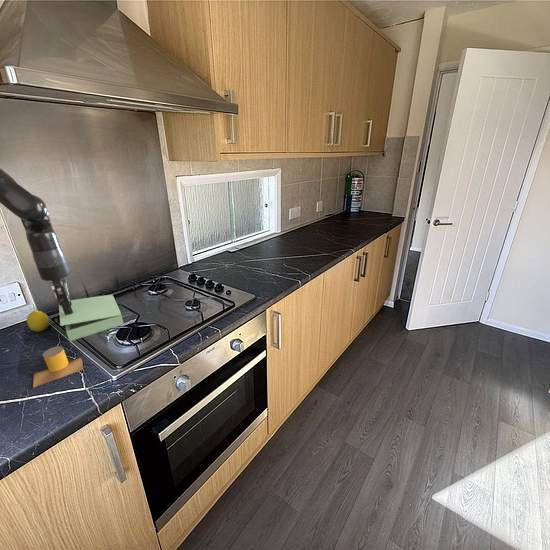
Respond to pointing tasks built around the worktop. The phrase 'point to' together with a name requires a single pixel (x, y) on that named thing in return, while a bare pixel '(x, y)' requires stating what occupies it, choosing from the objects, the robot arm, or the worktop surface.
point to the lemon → (37, 321)
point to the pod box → (92, 327)
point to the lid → (89, 309)
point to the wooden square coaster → (57, 372)
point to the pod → (55, 358)
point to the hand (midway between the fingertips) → (68, 309)
